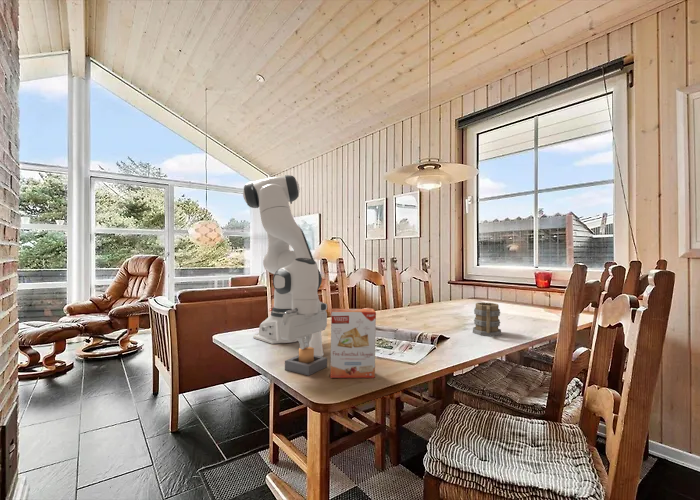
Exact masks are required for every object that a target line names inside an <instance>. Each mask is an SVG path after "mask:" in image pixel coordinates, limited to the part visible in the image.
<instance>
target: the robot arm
mask: <svg viewBox="0 0 700 500" xmlns="http://www.w3.org/2000/svg"><path fill="white" fill-rule="evenodd" d="M300 189H301V188H300V184H299V182H298V181H297V179H296V177H295V176H294V175H290V174H287V175H286V174H285V175H281V176H279V175H278V176H277V175H276V176H270V177H268V178H263V179H258V180H255V181H253V180H252V181H249V182H247V183H245V184H244V186H243V190H242V191H243V192H242V197H243V200H244V202H245V203H246V204H247V206H248V207H249V208H252V209H259V213H260V215H259V216H260V220H261V223H262V224H261V225H262V227H263V229H264V231H265V232H266V233H267V239H268V245H267V251H266V254H265V255H264V258H263V262H262V263H263V268H264V269H265V270H266V271H267V272H268V273H270V274H273V277H272V285H273V288H274V291H273V307H272V308H271V307H270V308H269V312H270V315H269V316H268V317H267V318H266V319H265V320H263V321H262V322H261V323H260V324H259V326H258V327H259V328H258V332H257V333H255V334H254V335H253V337H252V338H253V339H255V340H260V341H262V342H265V343H268V344H272V345H273V344H286V343H287V344H288V343H297V342H298V343H299V348H300V349H306V348H309V342H310V340H311V338H312V334H313V333H316V332H319V331H321V332H322V331H325V330H326V328H327V325H328V313H327V310H328V304H327V303H325V302H322V301H320V300H319V301H318V299H319V298H318V297H319V295H318V291H319V289H320V287H321V285H322V282H323V279H322V278H323V277H322V273H321V271H320V270H319V268H318V263H317V261H315V260H314V257H313V254H312V251H311V248H310V246H309V243H308V240H307V238H306V236H305V233H304V231H303V229H302V228H301V227H300V226H299V225H298V223H297V222H296V220H295V218H294V217H293V214H292V211H291V206H290V205H291V204H293V202H294V201H297V199H298V198H299V195H300ZM289 203H290V204H289ZM290 247H291V248H292V250H290Z"/></svg>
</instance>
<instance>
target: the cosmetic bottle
mask: <svg viewBox="0 0 700 500" xmlns="http://www.w3.org/2000/svg"><path fill="white" fill-rule="evenodd" d="M318 301H320V299H319V296H318ZM322 336H323V335H322V331H319V332H316V333H313V334H312V338H311V340H310V342H309V347H312V348H314V355H315V356H320V357H324V351H323V350H324V349H323V339H322Z"/></svg>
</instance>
